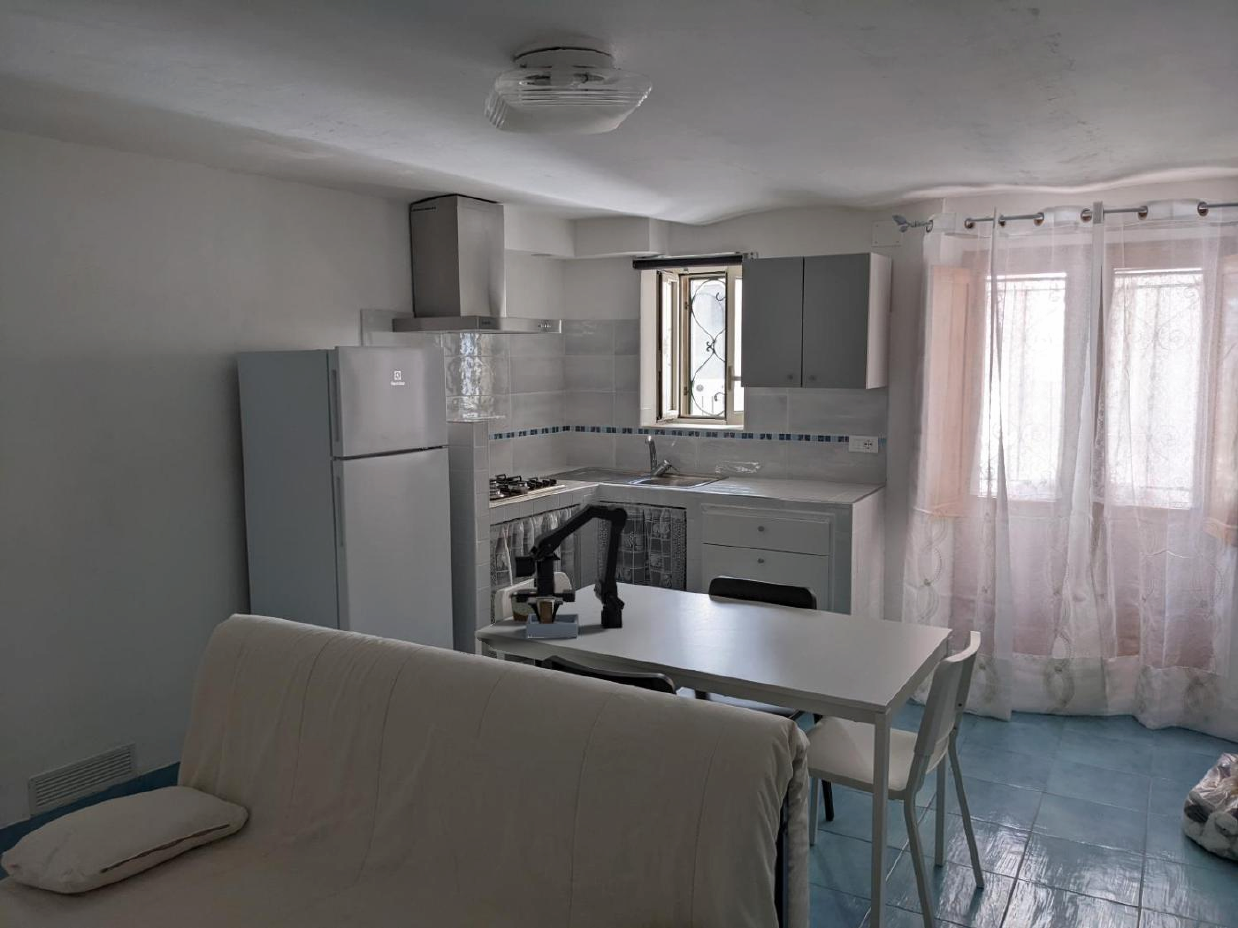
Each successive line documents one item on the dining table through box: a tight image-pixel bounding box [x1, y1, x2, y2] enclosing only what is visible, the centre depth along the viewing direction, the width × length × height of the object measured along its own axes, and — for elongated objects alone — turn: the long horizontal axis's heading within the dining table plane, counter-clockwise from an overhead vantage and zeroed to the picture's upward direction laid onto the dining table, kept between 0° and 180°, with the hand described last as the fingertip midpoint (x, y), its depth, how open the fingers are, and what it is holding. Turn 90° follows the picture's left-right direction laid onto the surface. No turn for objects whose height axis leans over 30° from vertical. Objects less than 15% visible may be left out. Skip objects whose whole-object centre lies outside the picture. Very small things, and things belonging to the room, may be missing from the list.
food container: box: [508, 588, 545, 623], centre depth 318 cm, size 12×6×10 cm, turn 84°
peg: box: [540, 600, 553, 624], centre depth 304 cm, size 4×4×9 cm
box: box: [525, 613, 580, 638], centre depth 304 cm, size 16×11×4 cm
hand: (546, 622), depth 304 cm, fingers closed on peg, 4 cm apart
